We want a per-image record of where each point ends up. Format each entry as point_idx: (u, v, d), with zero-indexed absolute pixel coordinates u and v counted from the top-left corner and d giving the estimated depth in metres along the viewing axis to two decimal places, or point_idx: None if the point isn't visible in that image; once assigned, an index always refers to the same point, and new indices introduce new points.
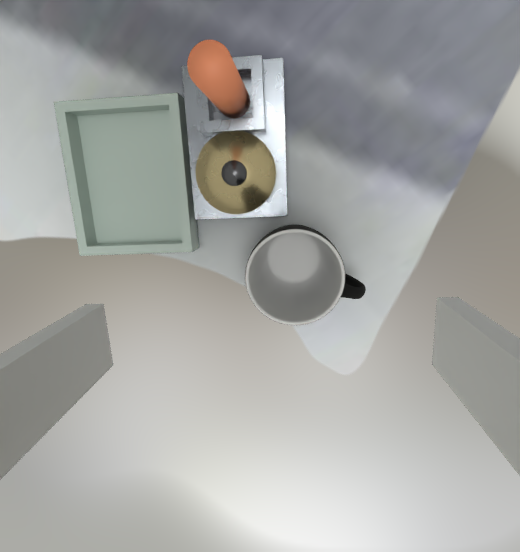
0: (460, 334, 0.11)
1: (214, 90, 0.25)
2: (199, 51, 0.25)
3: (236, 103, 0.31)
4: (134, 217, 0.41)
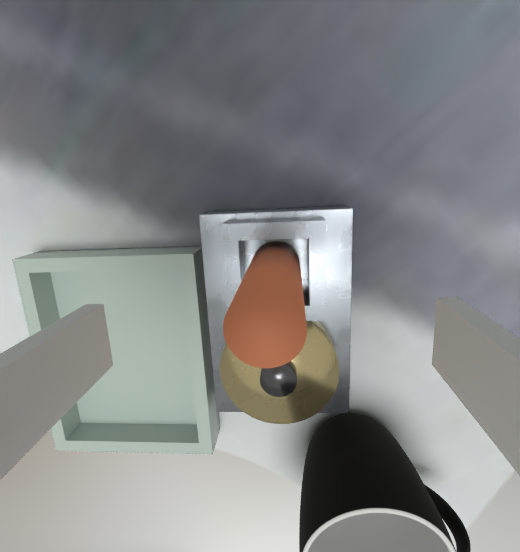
0: (460, 335, 0.11)
1: (272, 367, 0.14)
2: (246, 307, 0.13)
3: None
4: (131, 393, 0.30)
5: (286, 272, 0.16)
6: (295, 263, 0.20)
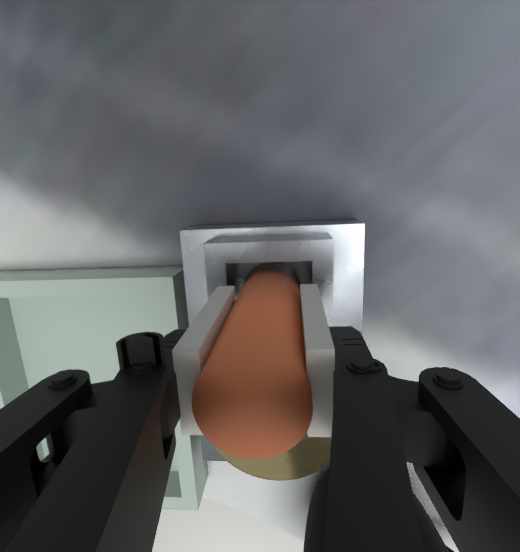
0: None
1: (262, 457, 0.10)
2: (224, 376, 0.09)
3: None
4: None
5: (283, 313, 0.12)
6: (295, 293, 0.16)
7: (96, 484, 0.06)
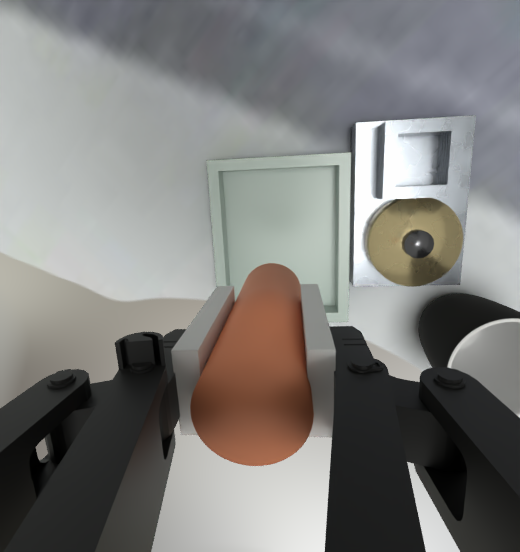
0: None
1: (262, 464, 0.10)
2: (223, 381, 0.09)
3: None
4: None
5: (283, 316, 0.12)
6: (295, 296, 0.16)
7: (96, 483, 0.06)
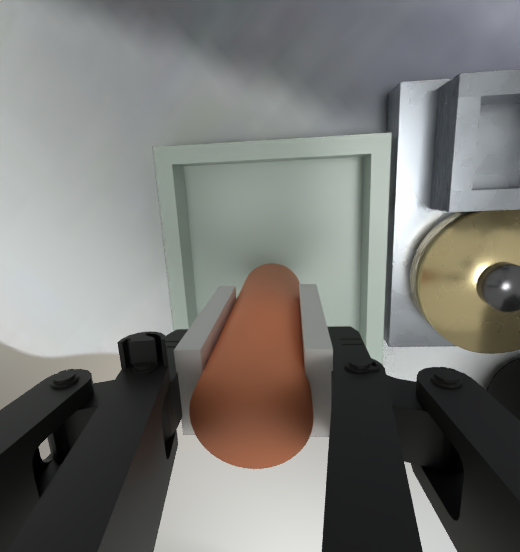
0: (300, 312, 0.14)
1: (261, 466, 0.10)
2: (222, 384, 0.09)
3: None
4: None
5: (283, 317, 0.12)
6: (295, 297, 0.16)
7: (98, 484, 0.06)
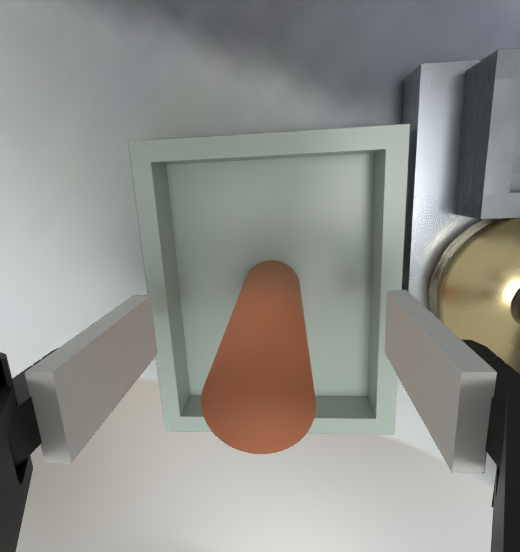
0: (401, 323, 0.13)
1: (267, 452, 0.10)
2: (232, 376, 0.10)
3: None
4: None
5: (286, 314, 0.13)
6: (296, 293, 0.16)
7: None
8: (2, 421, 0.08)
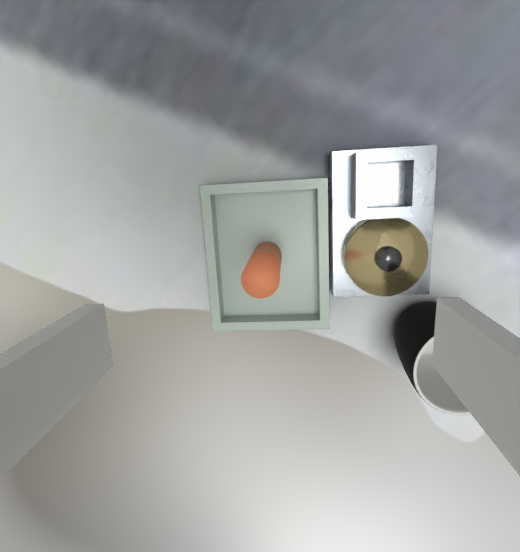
0: (460, 335, 0.11)
1: None
2: (251, 269, 0.29)
3: None
4: None
5: (271, 255, 0.32)
6: (277, 253, 0.36)
7: None
8: None
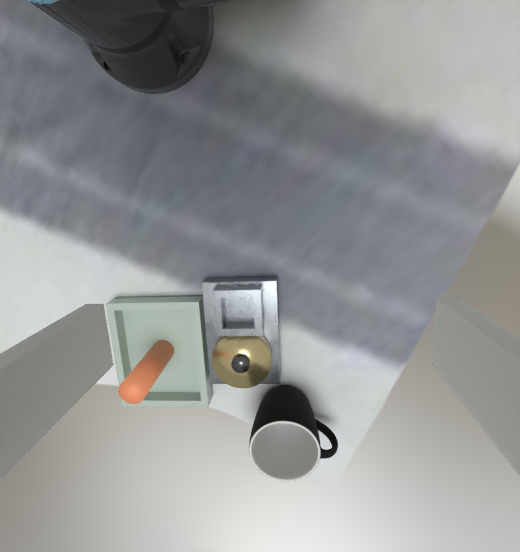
0: (460, 335, 0.11)
1: (135, 403, 0.42)
2: (125, 385, 0.42)
3: None
4: (163, 374, 0.54)
5: (148, 367, 0.45)
6: (161, 356, 0.48)
7: None
8: None
